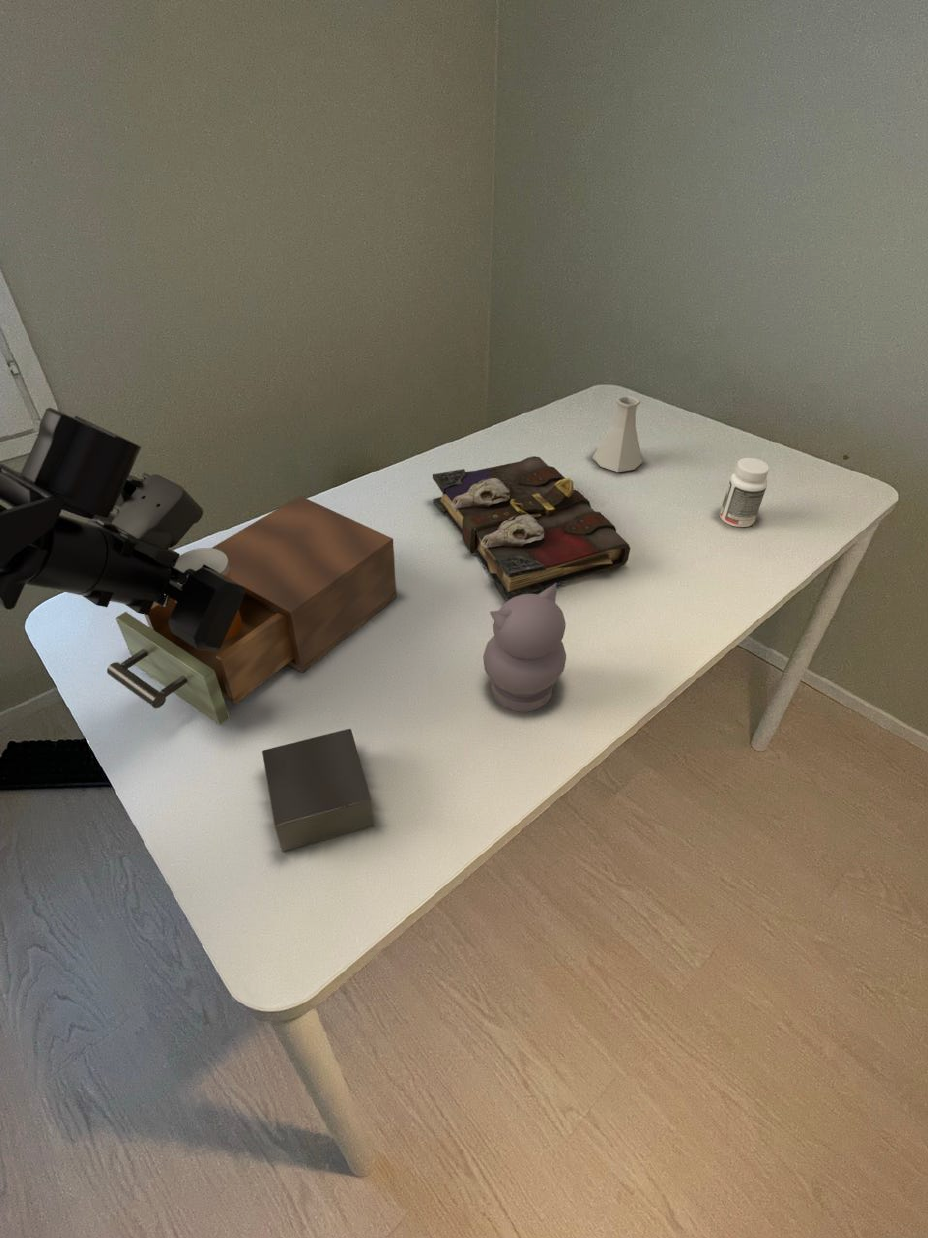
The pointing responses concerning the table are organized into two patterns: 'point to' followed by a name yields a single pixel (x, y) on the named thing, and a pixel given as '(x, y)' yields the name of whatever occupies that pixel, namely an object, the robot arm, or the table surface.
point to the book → (529, 525)
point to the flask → (621, 439)
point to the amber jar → (217, 563)
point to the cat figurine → (526, 650)
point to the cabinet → (314, 573)
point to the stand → (317, 789)
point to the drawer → (203, 658)
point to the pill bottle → (745, 492)
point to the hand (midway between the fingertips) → (221, 594)
